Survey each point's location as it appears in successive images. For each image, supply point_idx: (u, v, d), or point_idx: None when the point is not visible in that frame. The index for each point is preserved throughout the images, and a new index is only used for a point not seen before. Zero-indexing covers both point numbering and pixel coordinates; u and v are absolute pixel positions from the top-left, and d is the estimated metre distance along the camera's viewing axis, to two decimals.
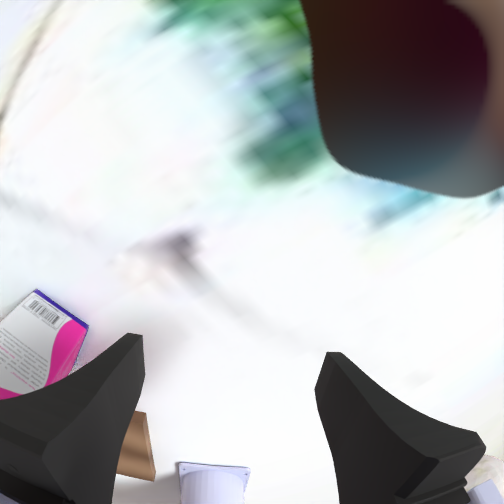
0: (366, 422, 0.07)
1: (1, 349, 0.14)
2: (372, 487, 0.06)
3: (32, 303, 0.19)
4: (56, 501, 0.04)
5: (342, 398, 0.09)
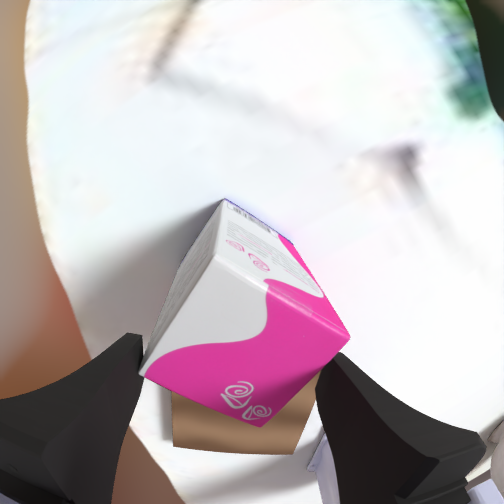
0: (366, 422, 0.07)
1: (251, 242, 0.13)
2: (372, 487, 0.06)
3: (234, 208, 0.18)
4: (56, 501, 0.04)
5: (342, 398, 0.09)
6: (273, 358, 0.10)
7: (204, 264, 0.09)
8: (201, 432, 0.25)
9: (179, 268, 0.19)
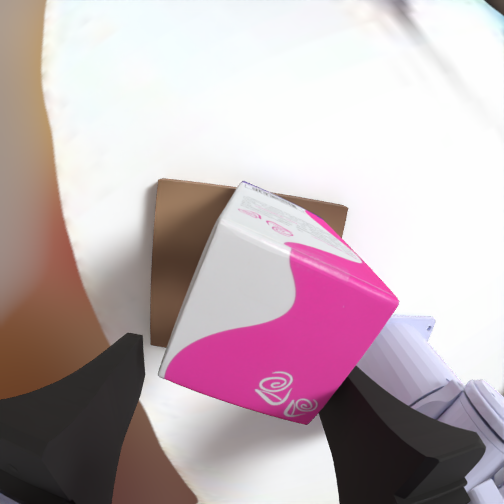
0: (366, 422, 0.07)
1: (271, 212, 0.11)
2: (372, 487, 0.06)
3: (253, 188, 0.17)
4: (56, 501, 0.04)
5: (342, 398, 0.09)
6: (310, 339, 0.08)
7: (211, 233, 0.08)
8: None
9: None
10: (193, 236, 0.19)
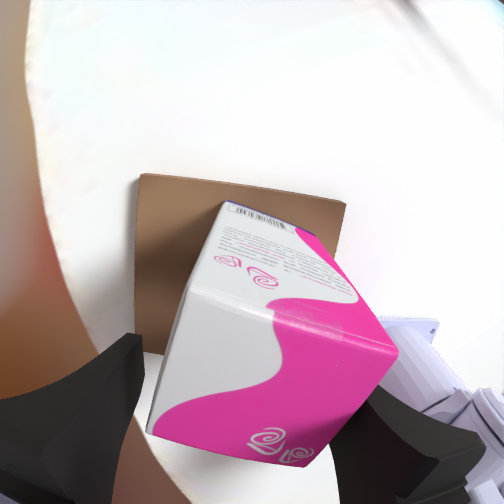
0: (366, 422, 0.07)
1: (254, 248, 0.10)
2: (372, 487, 0.06)
3: (238, 209, 0.15)
4: (56, 501, 0.04)
5: None
6: (302, 398, 0.07)
7: (181, 299, 0.07)
8: (174, 319, 0.19)
9: None
10: (178, 235, 0.18)
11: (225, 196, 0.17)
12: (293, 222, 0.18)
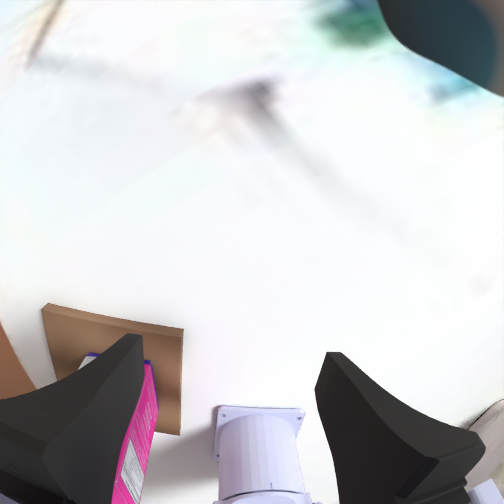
0: (366, 422, 0.07)
1: None
2: (372, 487, 0.06)
3: None
4: (56, 501, 0.04)
5: (342, 398, 0.09)
6: None
7: None
8: None
9: None
10: (72, 349, 0.22)
11: (94, 329, 0.21)
12: (143, 348, 0.22)
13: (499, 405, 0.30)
